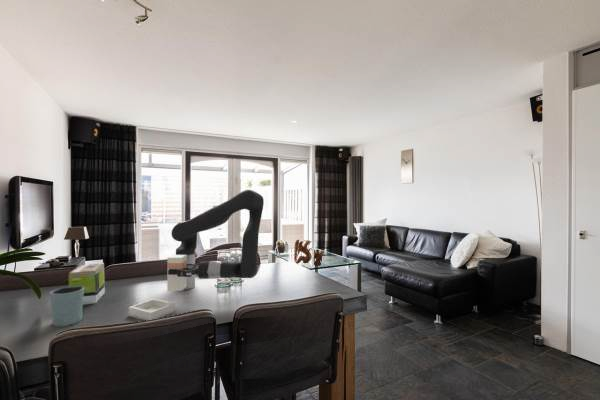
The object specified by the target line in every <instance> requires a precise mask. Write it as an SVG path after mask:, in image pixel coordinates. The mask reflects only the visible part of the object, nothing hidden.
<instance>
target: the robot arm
mask: <svg viewBox="0 0 600 400" xmlns="http://www.w3.org/2000/svg"><path fill="white" fill-rule="evenodd" d="M264 201H265V199H264V197H263V196H262V195H261V193H258V192H257V191H254V190H252V189H245V190H242V191H241V192H239V193H238V194H236V195H235V196H233V197H231V198H230V199H227V200H226V201H224V202H223V203H221V204H218V205H216V206H214V207H212V208H210V209H207V210H205V211H204V212H202V213H200V214H198V215H195V217H193V218H191V219H189V220H186V221H182V222H179V223H177V224H176V225H174V227H172V229H171V237H172V239H173V240H174V241H176V242H181V244H180V245H179V246H178V247H177V248H176V249H175V255H187V266H186V267H184V268H183V269H169V270H168V274H169V275H177V276H178V277H187V286H186V287H185V288H184V289H183V290H182V291H184V290H190V289H193V288H195V287H196V275H197V277H198V279H200V280H206V279H207V280H208V279H209V280H211V279H212V280H213V279H215V280H217V279H232V278H234V279H235V278H236V279H237V278H238V279H253V278H255V276H257V274H258V271H259V268H258V265H257V264H258V263H257V262H258V261H257V260H258V259H257V257H258V256H257V255H258V252H259V251H258V250H259V232H260V225H261V222H262V215H263V209H264V205H265V204H264ZM241 210H247V211H248V213H249V214H248V215H249V216H248V217H249V218H248V224H247V226H246V228H245V230H244V233H243V236H242V242H241V243H242V245H241V259H240V262H235V261H220V260H200V261H199V263H196V249H197V244H198V243H197V242H198V233H200V232H204V231H208V230H211V229H214V228H217V227H220V226H222V225H223V224H225V223H226V222H228V221H229V219H230V218H231V217H232V215H233V214H235V213H237V212H239V211H241ZM180 272H183V273H180Z"/></svg>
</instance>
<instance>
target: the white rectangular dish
mask: <svg viewBox="0 0 600 400" xmlns="http://www.w3.org/2000/svg"><path fill="white" fill-rule="evenodd" d="M174 313H176V303H175V302H170V301H167V300H162V299H157V298H151V299H148V300H146V301H142V302H140V303H136V304H133V305H131V306H129V307H128V316H129V317H131V318H135V319H139V320H141V319H143V320H142V321H145V320H150V319H155V318H160V317H162V318H164V317H167V316H169V315H171V314H174ZM160 319H161V318H160Z"/></svg>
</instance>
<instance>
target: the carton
mask: <svg viewBox="0 0 600 400" xmlns="http://www.w3.org/2000/svg"><path fill="white" fill-rule="evenodd" d="M166 264H167V265H166V266H167V267H166V268H167V273H166V274H167V276H166V277H167V278H166V279H167V282H166V283H167V286H166V287H167V291H169V292H170V291H171V292H172V291H173V292H174V291H176V292H181V291H184V290H183V289H184V288H185V287H186V286H187V277H178V276H177V275H169V274H168V270H169V269H183V268H184V267H186V266H187V255H176V254H172V255H170V256H168V257H167V262H166ZM180 273H183V272H180Z"/></svg>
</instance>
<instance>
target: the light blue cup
mask: <svg viewBox="0 0 600 400" xmlns="http://www.w3.org/2000/svg"><path fill="white" fill-rule="evenodd" d="M83 295H84V287H83V286H70V287H69V286H65V287H64V286H63V287H59V288H56V289H53V290H51V291H49V296H50V297H49V298H50V304H51V314H52V324H53V325H52V326H54V327H66V326H67V327H68V326H71V324H72V325H75V324H77V323H79V322H80V321H82V319H83V307H84V305H83Z"/></svg>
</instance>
